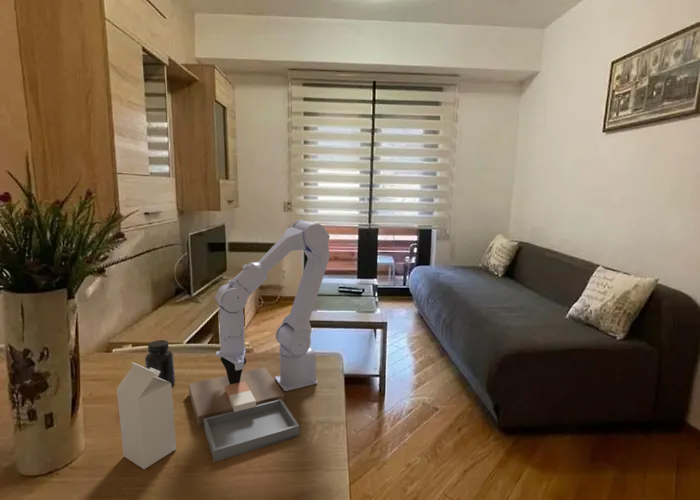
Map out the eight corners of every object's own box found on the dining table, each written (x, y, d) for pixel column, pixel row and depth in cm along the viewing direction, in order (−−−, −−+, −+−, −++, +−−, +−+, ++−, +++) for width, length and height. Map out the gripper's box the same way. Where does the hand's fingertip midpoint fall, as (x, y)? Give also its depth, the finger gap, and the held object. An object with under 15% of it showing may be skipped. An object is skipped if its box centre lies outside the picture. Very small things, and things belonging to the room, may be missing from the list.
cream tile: (250, 396, 100) (250, 390, 100) (256, 406, 96) (255, 400, 96) (229, 401, 98) (229, 395, 98) (234, 412, 94) (234, 406, 93)
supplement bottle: (180, 383, 111) (177, 341, 109) (157, 395, 106) (153, 351, 103) (165, 376, 115) (162, 336, 113) (141, 387, 109) (137, 344, 107)
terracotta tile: (245, 386, 105) (245, 381, 104) (250, 396, 100) (250, 390, 100) (224, 391, 102) (224, 385, 102) (229, 401, 98) (229, 395, 98)
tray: (281, 408, 101) (281, 398, 100) (299, 436, 90) (299, 425, 90) (204, 428, 92) (203, 418, 92) (214, 462, 82) (213, 451, 81)
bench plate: (265, 377, 115) (265, 367, 115) (284, 405, 102) (284, 394, 101) (189, 394, 106) (188, 383, 106) (199, 428, 92) (198, 416, 92)
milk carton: (144, 470, 79) (135, 379, 76) (123, 456, 83) (114, 369, 79) (176, 449, 85) (170, 364, 82) (155, 437, 89) (148, 355, 85)
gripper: (210, 326, 106) (212, 375, 108) (221, 347, 93) (223, 402, 96) (238, 321, 109) (239, 369, 112) (252, 342, 96) (254, 395, 99)
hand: (234, 384), depth 104 cm, fingers closed
